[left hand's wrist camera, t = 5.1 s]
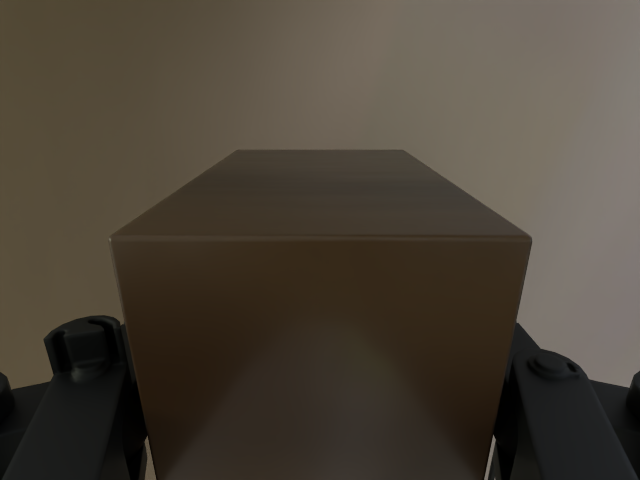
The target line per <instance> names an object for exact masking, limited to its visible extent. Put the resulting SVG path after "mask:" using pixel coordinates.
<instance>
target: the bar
mask: <svg viewBox="0 0 640 480" xmlns="http://www.w3.org/2000/svg"><path fill="white" fill-rule="evenodd" d="M531 245H532V238H531V236H530V235H529V234H527V233H526V232H524V231H523V230H521V229H520V228H518V227H517V226H515V225H514V224H512V223H511V222H509V221H508V220H506V219H505V218H503V217H502V216H500V215H499V214H497V213H496V212H494V211H493V210H491V209H490V208H489V207H487V206H486V205H484V204H483V203H481V202H480V201H478V200H477V199H475V198H474V197H472V196H471V195H469V194H468V193H466V192H465V191H463V190H462V189H460V188H459V187H457V186H456V185H454V184H453V183H451V182H450V181H449V180H447V179H446V178H444V177H443V176H441V175H440V174H438V173H437V172H435V171H434V170H432V169H431V168H429V167H428V166H426V165H425V164H423V163H422V162H420V161H419V160H417V159H416V158H414V157H413V156H411V155H410V154H409V153H407V152H406V151H404V150H236V151H235V152H233V153H232V154H230V155H229V156H227V157H226V158H224V159H223V160H221V161H220V162H219V163H217V164H216V165H214V166H213V167H211V168H210V169H208V170H207V171H205V172H204V173H202V174H201V175H199V176H198V177H196V178H195V179H193V180H192V181H190V182H189V183H187V184H186V185H185V186H183V187H182V188H180V189H179V190H177V191H176V192H174V193H173V194H171V195H170V196H168V197H167V198H165V199H164V200H162V201H161V202H159V203H158V204H156V205H155V206H153V207H152V208H151V209H149V210H148V211H146V212H145V213H143V214H142V215H140V216H139V217H137V218H136V219H134V220H133V221H131V222H130V223H128V224H127V225H125V226H124V227H122V228H121V229H119V230H118V231H117V232H115V233H114V234H112V235H111V236H110V237H109V246H110V251H111V256H112V261H113V266H114V271H115V276H116V281H117V286H118V291H119V296H120V301H121V306H122V311H123V316H124V321H125V326H126V331H127V336H128V341H129V346H130V351H131V356H132V361H133V366H134V371H135V375H136V380H137V385H138V390H139V395H140V400H141V405H142V410H143V415H144V420H145V425H146V430H147V435H148V440H149V445H150V450H151V455H152V460H153V465H154V470H155V475H156V480H484V477H485V472H486V467H487V462H488V457H489V453H490V448H491V443H492V438H493V433H494V428H495V423H496V418H497V413H498V408H499V403H500V398H501V393H502V388H503V383H504V378H505V373H506V369H507V364H508V359H509V354H510V349H511V344H512V339H513V334H514V329H515V324H516V319H517V314H518V309H519V304H520V299H521V294H522V289H523V285H524V280H525V275H526V270H527V265H528V260H529V255H530V250H531Z"/></svg>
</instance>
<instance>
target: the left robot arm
mask: <svg viewBox="0 0 640 480" xmlns="http://www.w3.org/2000/svg"><path fill="white" fill-rule="evenodd" d="M44 343H45V346H46V350H47V353H48V357H49V360H50V363H51V367H52V370H53V374H54V376H53V378H52V380H51V381H50V382H46V383H42V384H37V385H32V386H27V387H22V388H17V389H12V390H11V387H10V384H9V381H8V379H7V377H6V376H5V375H4V374H2V373H1V372H0V480H145V472H146V464H147V453H146V447H145V442H144V441H145V439H146V437H147V430H146V425H145V420H144V415H143V410H142V405H141V400H140V395H139V390H138V385H137V380H136V375H135V371H134V366H133V361H132V356H131V351H130V346H129V341H128V336H127V331H126V326H125V322H124V324H122V325H121V326H120V322H119V321H118V320H117V319H115V318H114V317H110V316H104V315H102V316H89V317H84V318H80V319H76V320H73V321H70V322H68V323H65V324H63V325H61V326H59V327H58V328H56V329H54V330H53V331H51V332H50V333H49V334H48V335H47V336H46V337H45V338H44ZM493 435H494V437H495V439H496V442H495V447H494V452H493V456H492V461H491V466H490V471H489V476H488V480H494V478H495V479H496V480H640V371H639V372H638V373H636V374H635V375H634V377H633V380H632V383H631V386H630V388H627V387H622V386H617V385H612V384H607V383H603V382H598V381H593V380H590V379H588V377H587V375H586V374H585V372H584V371H583V370H582V369H581V367H580V366H579V365H577V364H576V363H574V362H573V361H572V360H570V359H569V358H567V357H564V356H562V355H560V354H558V353H555V352H552V351H548V350H544V349H540V348H539V346H538V345H537V344H536V343H535V342H534V341H533V339H532V338H531V337H530V336H529V335H528V334H527V332H526V331H525V330H524V329H523V328H522V327H521V326H520V324H519V323H517V322H516V324H515V329H514V334H513V339H512V344H511V349H510V354H509V359H508V364H507V369H506V373H505V378H504V383H503V388H502V393H501V398H500V403H499V408H498V413H497V418H496V423H495V428H494V433H493Z"/></svg>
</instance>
